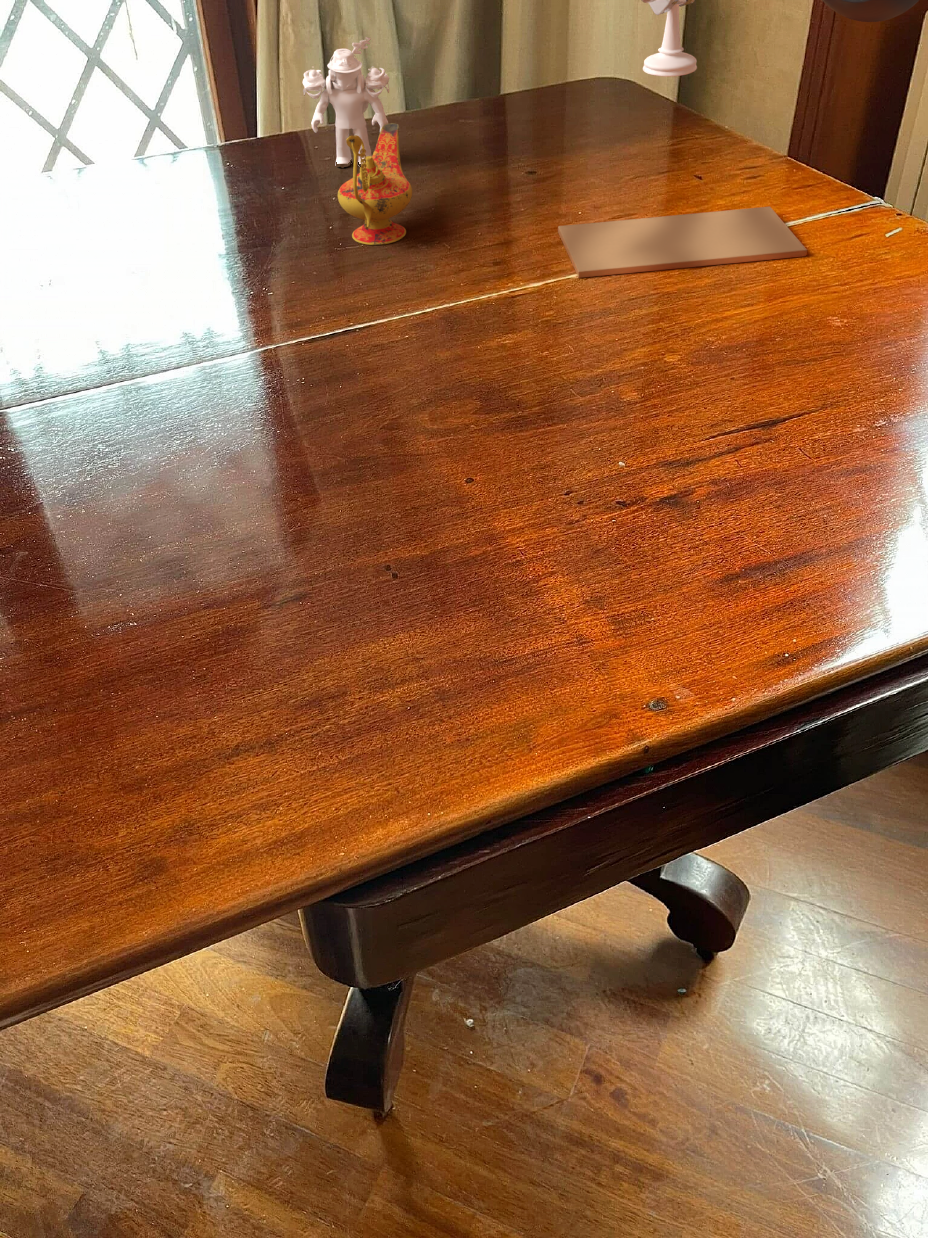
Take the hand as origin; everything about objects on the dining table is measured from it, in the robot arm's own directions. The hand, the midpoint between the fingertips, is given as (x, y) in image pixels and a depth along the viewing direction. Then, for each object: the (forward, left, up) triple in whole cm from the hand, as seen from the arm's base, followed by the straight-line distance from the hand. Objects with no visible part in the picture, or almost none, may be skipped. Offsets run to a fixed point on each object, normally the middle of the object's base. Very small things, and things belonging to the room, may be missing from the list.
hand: (668, 2), depth 98 cm
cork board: (+2, +14, -16) cm, 22 cm away
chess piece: (0, 0, -6) cm, 6 cm away
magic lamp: (+28, +4, -16) cm, 32 cm away
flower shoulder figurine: (+30, -14, -16) cm, 36 cm away
